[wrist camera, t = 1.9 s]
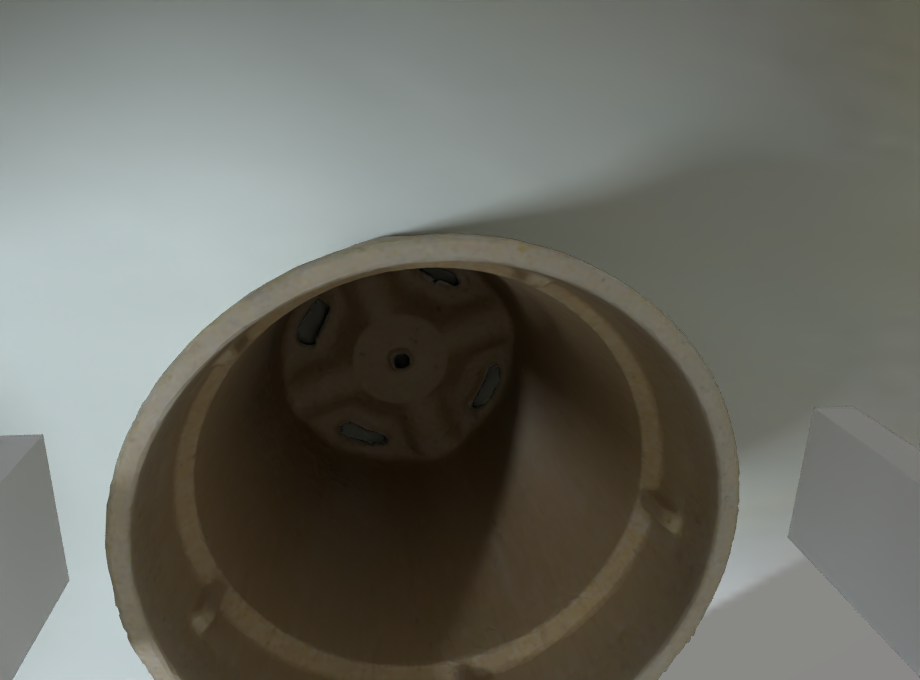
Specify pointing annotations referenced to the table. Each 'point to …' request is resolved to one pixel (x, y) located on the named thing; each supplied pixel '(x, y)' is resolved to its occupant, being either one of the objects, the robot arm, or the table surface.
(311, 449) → the flower pot
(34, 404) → the table surface
